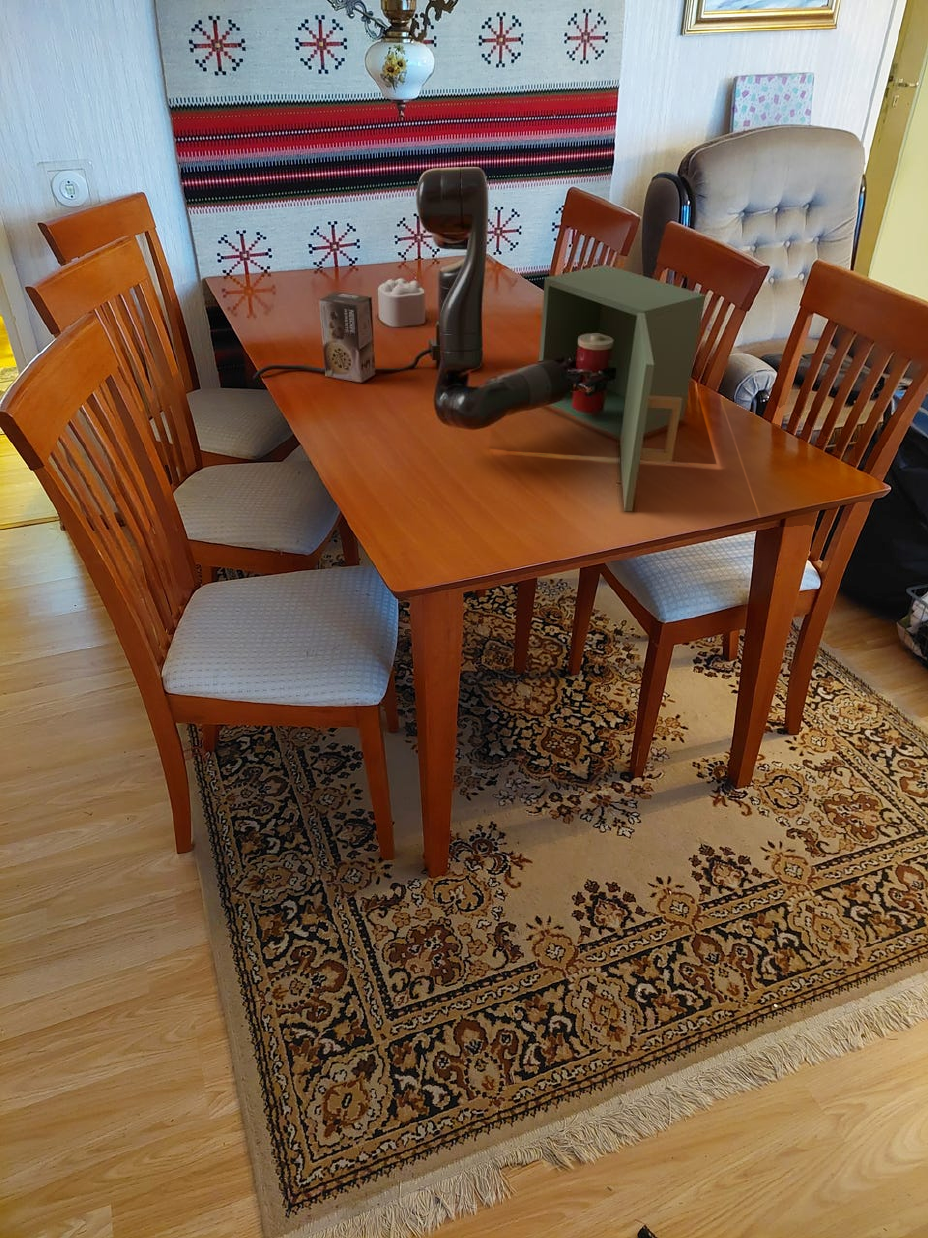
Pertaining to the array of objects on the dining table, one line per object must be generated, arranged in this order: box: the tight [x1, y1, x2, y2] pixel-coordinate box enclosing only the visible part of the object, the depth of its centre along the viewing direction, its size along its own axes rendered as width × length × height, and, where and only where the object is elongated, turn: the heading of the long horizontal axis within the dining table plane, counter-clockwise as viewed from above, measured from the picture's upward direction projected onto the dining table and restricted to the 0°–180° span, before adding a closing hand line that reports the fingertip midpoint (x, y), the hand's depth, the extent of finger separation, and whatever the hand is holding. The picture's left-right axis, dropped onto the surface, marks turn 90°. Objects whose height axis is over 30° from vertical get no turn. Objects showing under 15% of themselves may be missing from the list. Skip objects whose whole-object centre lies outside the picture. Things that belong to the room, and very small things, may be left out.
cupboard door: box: [619, 313, 682, 512], centre depth 144 cm, size 6×24×24 cm, turn 174°
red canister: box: [572, 333, 613, 413], centre depth 164 cm, size 6×6×14 cm
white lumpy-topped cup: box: [377, 277, 426, 328], centre depth 216 cm, size 10×13×9 cm
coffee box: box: [318, 291, 376, 384], centre depth 182 cm, size 9×6×16 cm
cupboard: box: [538, 264, 706, 438], centre depth 166 cm, size 16×24×24 cm, turn 39°
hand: (600, 367), depth 165 cm, fingers closed on red canister, 6 cm apart
